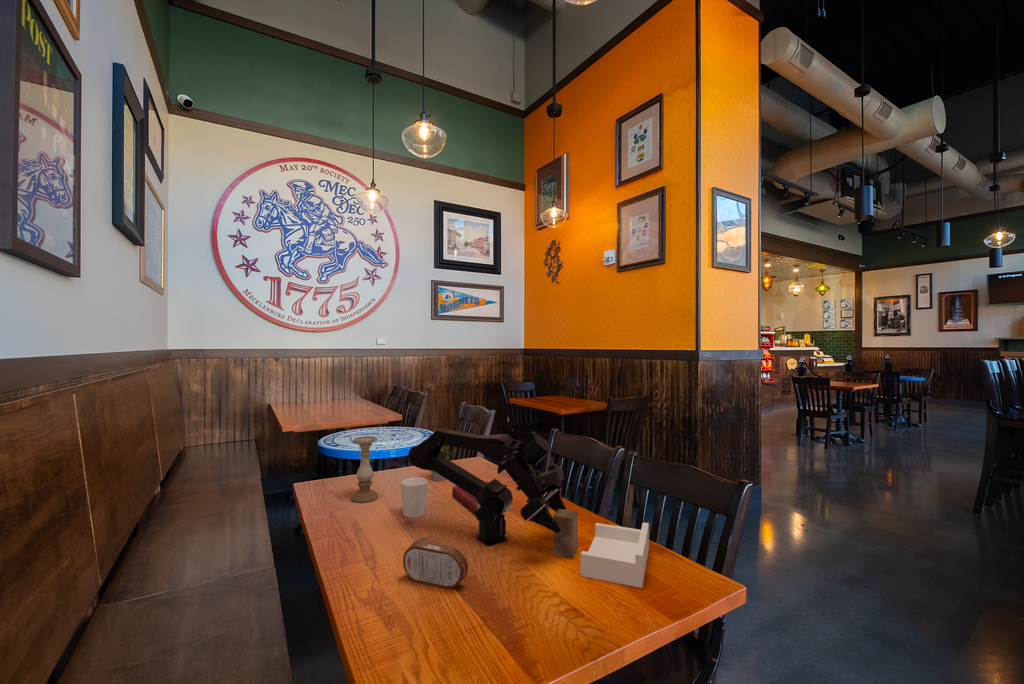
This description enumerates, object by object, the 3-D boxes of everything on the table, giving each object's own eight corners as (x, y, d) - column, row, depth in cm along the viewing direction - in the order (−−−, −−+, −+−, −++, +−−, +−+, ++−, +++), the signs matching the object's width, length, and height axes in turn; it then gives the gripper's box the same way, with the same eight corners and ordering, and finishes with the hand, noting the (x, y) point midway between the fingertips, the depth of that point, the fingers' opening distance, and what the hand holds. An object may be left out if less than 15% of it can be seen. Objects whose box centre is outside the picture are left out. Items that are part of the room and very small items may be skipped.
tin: (468, 586, 96) (468, 547, 96) (462, 593, 93) (462, 553, 93) (408, 573, 101) (408, 536, 101) (400, 580, 98) (401, 542, 98)
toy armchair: (580, 575, 100) (580, 545, 100) (595, 541, 118) (596, 515, 118) (642, 588, 95) (642, 555, 95) (648, 550, 113) (648, 523, 113)
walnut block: (553, 555, 110) (553, 515, 110) (558, 547, 115) (558, 508, 115) (572, 559, 108) (573, 518, 108) (577, 550, 113) (577, 511, 113)
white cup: (395, 516, 134) (396, 483, 134) (410, 507, 141) (411, 476, 141) (417, 520, 131) (418, 486, 131) (432, 511, 138) (432, 479, 138)
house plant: (411, 483, 166) (411, 440, 166) (424, 473, 179) (424, 432, 179) (447, 486, 163) (448, 441, 163) (458, 475, 177) (458, 434, 177)
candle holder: (383, 497, 151) (384, 437, 151) (362, 504, 143) (363, 442, 143) (366, 492, 155) (367, 434, 156) (345, 499, 148) (346, 439, 148)
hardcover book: (477, 519, 134) (477, 505, 134) (452, 497, 152) (452, 485, 152) (511, 512, 139) (511, 498, 139) (483, 492, 158) (483, 480, 158)
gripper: (533, 465, 105) (578, 519, 101) (555, 448, 122) (594, 494, 118) (502, 493, 108) (545, 547, 104) (527, 473, 125) (564, 518, 121)
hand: (564, 524), depth 111 cm, fingers open, 9 cm apart
